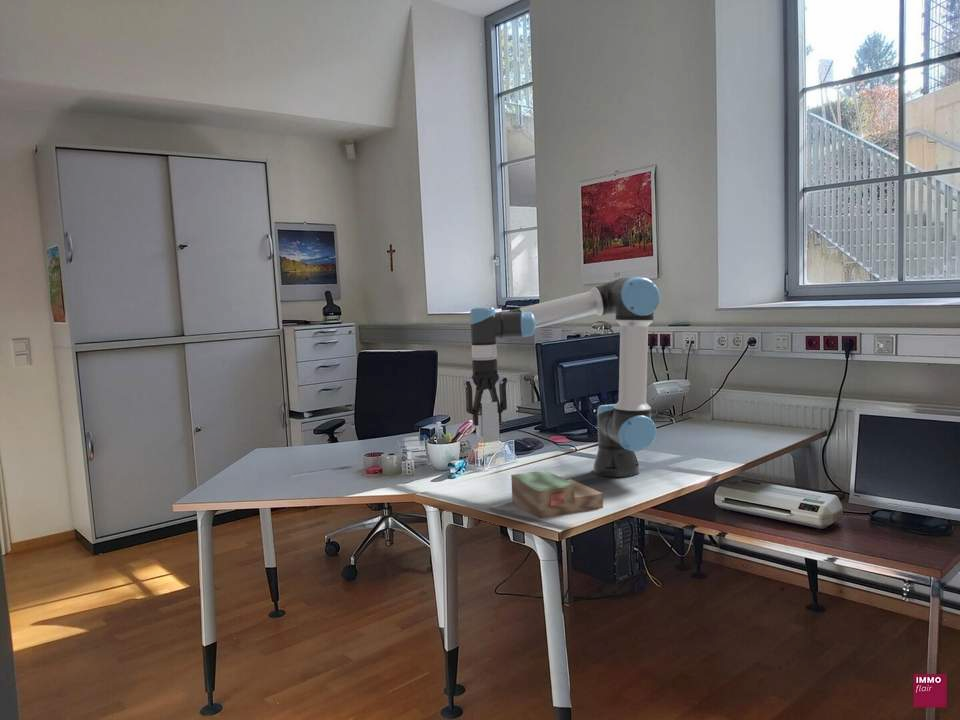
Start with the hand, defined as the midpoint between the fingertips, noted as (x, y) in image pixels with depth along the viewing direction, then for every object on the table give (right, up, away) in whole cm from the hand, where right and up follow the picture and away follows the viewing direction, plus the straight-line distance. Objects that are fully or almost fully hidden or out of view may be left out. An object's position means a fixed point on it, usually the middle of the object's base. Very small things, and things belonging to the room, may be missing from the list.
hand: (487, 434), depth 221 cm
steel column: (0, -2, 0) cm, 2 cm away
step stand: (+20, -19, -11) cm, 30 cm away
